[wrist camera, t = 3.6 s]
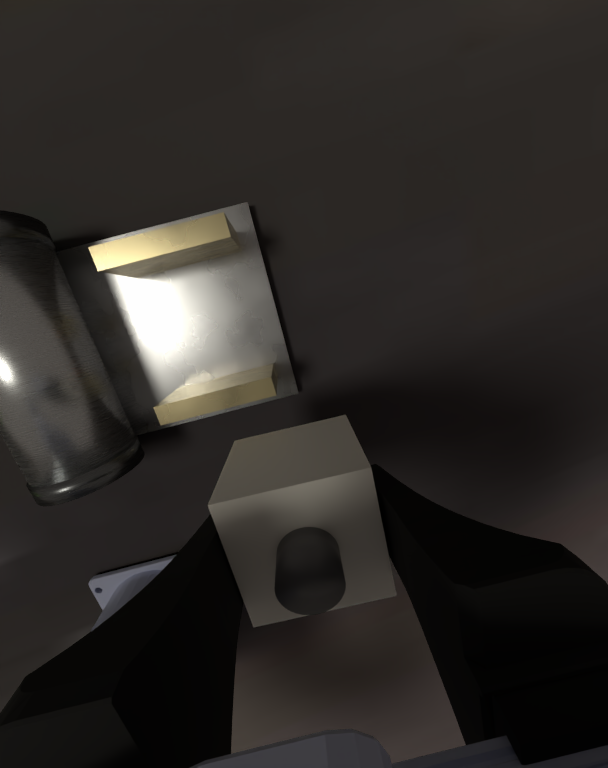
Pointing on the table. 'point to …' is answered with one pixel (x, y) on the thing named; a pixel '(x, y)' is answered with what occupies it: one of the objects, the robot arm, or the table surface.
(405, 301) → the table surface
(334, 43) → the table surface
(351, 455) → the light grey block
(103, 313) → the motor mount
